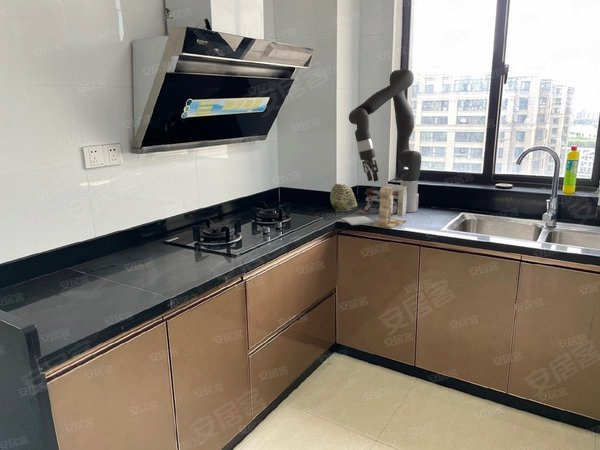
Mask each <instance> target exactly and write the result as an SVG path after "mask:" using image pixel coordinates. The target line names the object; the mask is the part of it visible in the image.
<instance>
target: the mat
mask: <svg viewBox="0 0 600 450" xmlns="http://www.w3.org/2000/svg"><path fill="white" fill-rule="evenodd" d="M341 220H342V221H344V222H346V223H348V224H349V225H351V226H361V225H369V224H374V223H376V221H375V220H373V219H371V218H369V217H367V216H365V215H364V216H363V215H362V216H351V217H341Z"/></svg>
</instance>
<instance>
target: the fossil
mask: <svg viewBox="0 0 600 450" xmlns="http://www.w3.org/2000/svg"><path fill="white" fill-rule="evenodd" d="M329 198H330V203H331V207H332V208H333V210H334V212H335V213H336V212H347V211H352V210H355V209H357V208H358V203H357V200H356V196H355V193H354V192H353V189H352V187H350V186H349V185H346V184H341V183H334V184H333V186H332V188H331V190H330V197H329Z"/></svg>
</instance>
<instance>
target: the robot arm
mask: <svg viewBox="0 0 600 450" xmlns="http://www.w3.org/2000/svg"><path fill="white" fill-rule="evenodd" d="M414 81H415V77H414V73H413V71H411V70H409V69H397V70H394V71H392V72H391V73H390V74H389V85H387V86H386V87H384V88H382V89H380V90H379V91H376V92H375V93H373V94H372V95H371V96H369V98H367V99H366V100H365V101H364V102H363V103H361V104H359V105H358V106H357V107H355V108H354V109H353V110H351V112H350V113H349V115H348V121H349V123H351V124H353V125H356V130H355V131H354V136H355V140H356V144H357V150H358V155H359V159H360V161H362V162H361V163H362V167H363V172H364V173H365V174H366V178H367V181H368V182H371V181H374V182H378V181H379V176H378V173H379V168H378V164H377V160H376V159H374V158H375V157H376V152H375V149H374V144H373V141H372V139H371V138H372V137H371V134H370V130H369V129H370V123H369V122H370V121H369V115H372V114H373V113H375V112H376V111H377V110H379V109H380V108H381V107H383V105H384V104H385V103H387V102H388V101H390V100H391V99H392V100H393V106H394V115H395V116H394V117H395V124H396V131H397V132H396V133H397V144H398V148H397V149H398V153H397V154H398V162H399V164H400V166H401V167H403V168H408V169H407V172H405V173H403V174H401V176H400V185H402V186H407V200H406V213H415V212H418V210H419V209H418V208H419V195H420V194H419V193H418V187H419V177H420V175H421V167H422V154H421V153H420V152H419V151H417V150H410V138H411V136H412V133H413V132H414V129H415V118H414V111H413V110H412V108H411V105H410V104H409V102H408V100H407V98H406V95H405V94H406V93H405V91H406V90H408V88H410V87H412V85H413V83H414Z"/></svg>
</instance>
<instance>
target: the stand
mask: <svg viewBox="0 0 600 450" xmlns="http://www.w3.org/2000/svg"><path fill="white" fill-rule="evenodd" d="M379 190H380V192H379V193H380V208H379V212H378V213H379V214H378V215H379V217H378V221H377V222H376V221H375V222H376V223H372V224H373V225H372V226H373V227H378V228H382V229H388V230H391V229H394V228H395V227H398V226H401V225H403V224H405V223H407V219H403V218H397V217H391V216H392V214H391V201H392V196H393V195H396V194H398V192H397V191H394V192H392V187H386V186H382V187H380V189H379Z"/></svg>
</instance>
